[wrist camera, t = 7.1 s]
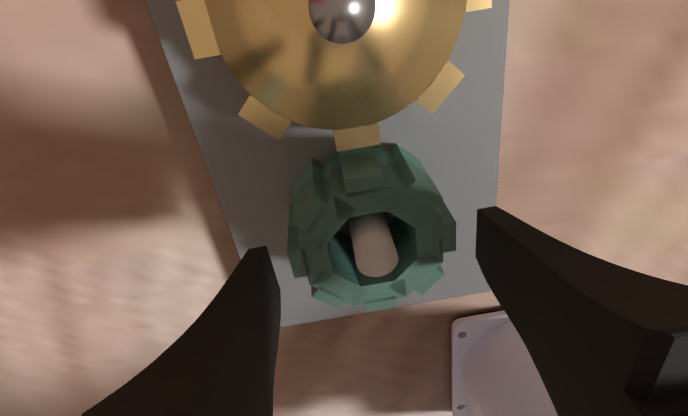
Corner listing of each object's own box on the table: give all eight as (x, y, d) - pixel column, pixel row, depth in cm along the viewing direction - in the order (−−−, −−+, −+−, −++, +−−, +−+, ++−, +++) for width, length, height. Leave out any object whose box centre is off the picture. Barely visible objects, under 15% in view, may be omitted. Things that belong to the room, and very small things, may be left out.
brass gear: (464, 107, 14) (499, 137, 11) (240, 145, 14) (226, 185, 11) (468, -211, 10) (527, -274, 7) (147, -155, 10) (92, -199, 7)
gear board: (478, 271, 20) (524, 350, 16) (268, 307, 20) (259, 396, 16) (499, -220, 11) (626, -341, 7) (109, -151, 11) (-15, -229, 7)
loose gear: (433, 249, 17) (455, 297, 15) (306, 271, 17) (306, 322, 15) (429, 127, 14) (456, 161, 12) (276, 153, 14) (270, 193, 12)
